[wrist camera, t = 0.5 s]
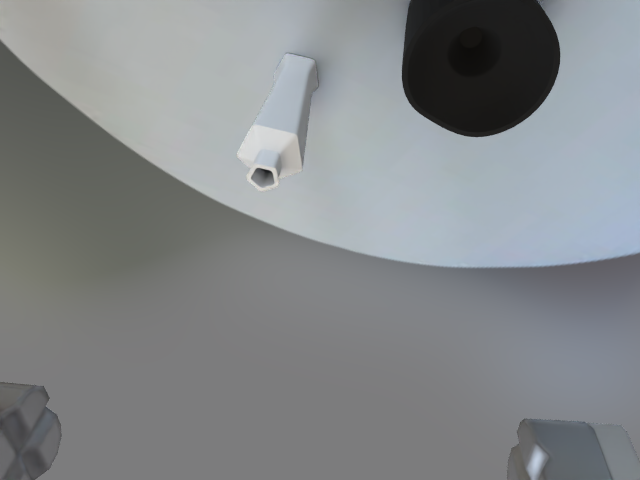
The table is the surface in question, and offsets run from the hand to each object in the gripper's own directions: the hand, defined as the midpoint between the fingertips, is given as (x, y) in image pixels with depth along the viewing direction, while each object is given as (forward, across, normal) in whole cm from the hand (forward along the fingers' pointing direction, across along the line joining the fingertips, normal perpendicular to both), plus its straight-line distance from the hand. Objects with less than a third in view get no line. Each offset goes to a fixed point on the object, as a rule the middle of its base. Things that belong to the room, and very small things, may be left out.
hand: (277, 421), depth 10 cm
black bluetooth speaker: (+39, -8, +2) cm, 40 cm away
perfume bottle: (+40, +4, +8) cm, 41 cm away
